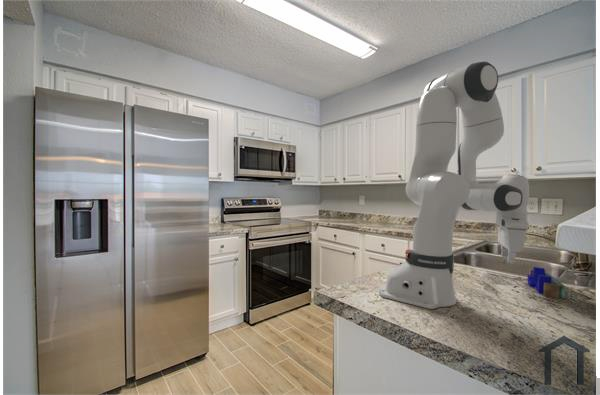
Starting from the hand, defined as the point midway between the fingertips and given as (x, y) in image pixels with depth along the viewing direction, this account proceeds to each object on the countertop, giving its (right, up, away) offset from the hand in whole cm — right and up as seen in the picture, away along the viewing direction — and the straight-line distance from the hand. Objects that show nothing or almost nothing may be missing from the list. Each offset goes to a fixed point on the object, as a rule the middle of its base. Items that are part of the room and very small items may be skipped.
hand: (507, 259), depth 101 cm
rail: (+10, -9, -4) cm, 14 cm away
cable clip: (+8, -9, -4) cm, 13 cm away
